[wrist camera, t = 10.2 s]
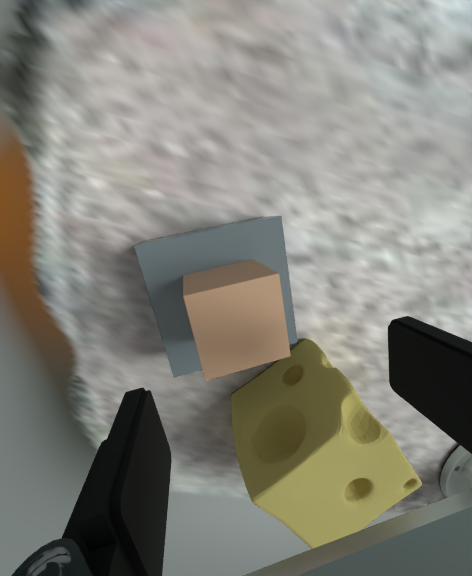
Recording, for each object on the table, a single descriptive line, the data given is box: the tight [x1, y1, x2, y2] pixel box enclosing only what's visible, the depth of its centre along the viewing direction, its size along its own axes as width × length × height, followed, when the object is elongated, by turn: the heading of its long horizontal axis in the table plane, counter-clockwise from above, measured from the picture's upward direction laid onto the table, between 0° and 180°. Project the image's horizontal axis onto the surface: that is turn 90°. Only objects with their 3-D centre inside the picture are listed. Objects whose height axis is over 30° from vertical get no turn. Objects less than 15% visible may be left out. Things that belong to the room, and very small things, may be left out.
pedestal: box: [134, 216, 297, 377], centre depth 20 cm, size 10×10×4 cm
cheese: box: [231, 339, 422, 549], centre depth 22 cm, size 10×11×10 cm
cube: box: [183, 259, 291, 381], centre depth 16 cm, size 5×5×5 cm
